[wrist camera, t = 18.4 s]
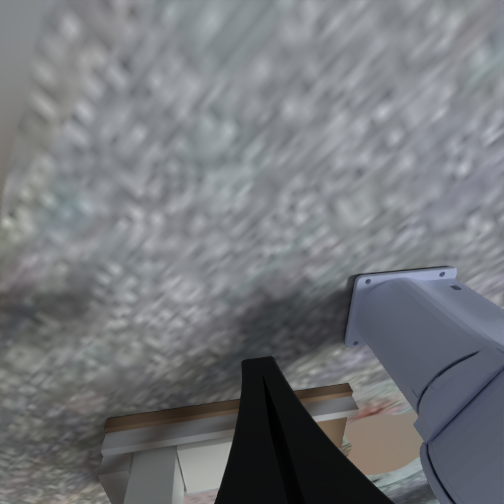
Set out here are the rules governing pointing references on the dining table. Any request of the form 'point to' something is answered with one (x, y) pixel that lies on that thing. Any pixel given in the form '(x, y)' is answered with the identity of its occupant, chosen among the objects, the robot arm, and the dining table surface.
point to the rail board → (203, 430)
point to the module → (155, 477)
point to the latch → (204, 463)
